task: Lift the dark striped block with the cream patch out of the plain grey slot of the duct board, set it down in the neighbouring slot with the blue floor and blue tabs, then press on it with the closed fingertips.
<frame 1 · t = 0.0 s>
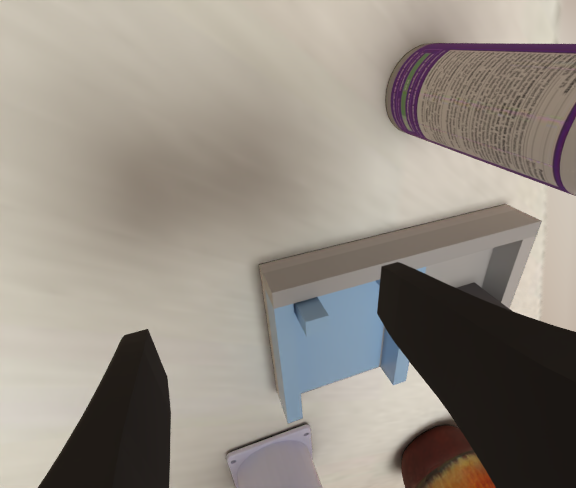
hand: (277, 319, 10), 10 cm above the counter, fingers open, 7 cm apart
duct board: (386, 301, 27), on the counter
vase: (427, 442, 44), on the counter
container: (419, 90, 19), on the counter
dark striped block: (439, 308, 28), point 1 cm above the counter, touching duct board
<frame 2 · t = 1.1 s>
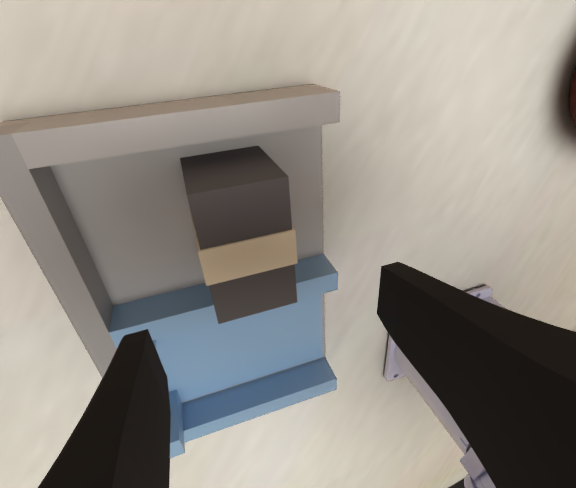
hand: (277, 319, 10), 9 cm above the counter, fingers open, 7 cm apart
duct board: (214, 278, 20), on the counter
dark striped block: (230, 210, 17), point 1 cm above the counter, touching duct board
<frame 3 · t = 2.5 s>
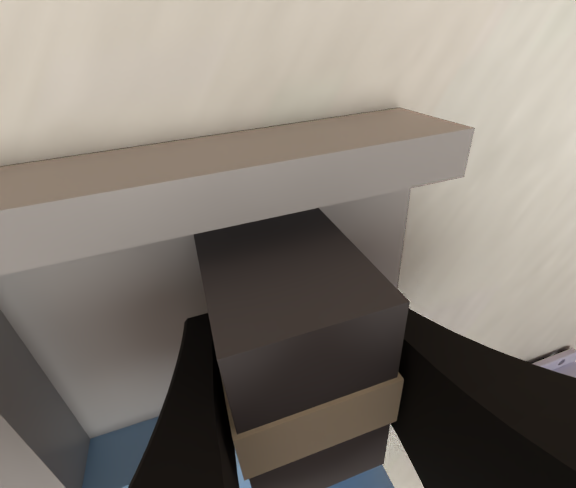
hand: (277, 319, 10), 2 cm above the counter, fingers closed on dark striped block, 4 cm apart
duct board: (238, 378, 14), on the counter
dark striped block: (268, 299, 11), point 1 cm above the counter, touching duct board, gripper
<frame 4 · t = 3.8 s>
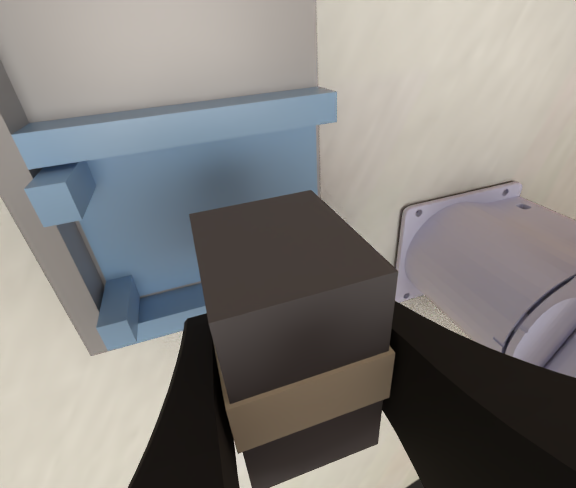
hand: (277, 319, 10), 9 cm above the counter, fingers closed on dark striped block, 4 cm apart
duct board: (175, 115, 15), on the counter
dark striped block: (264, 284, 11), point 8 cm above the counter, touching gripper
when the fingers open (4 cm above the counter, at t = 5.3 s): dark striped block drops 1 cm, resting on duct board.
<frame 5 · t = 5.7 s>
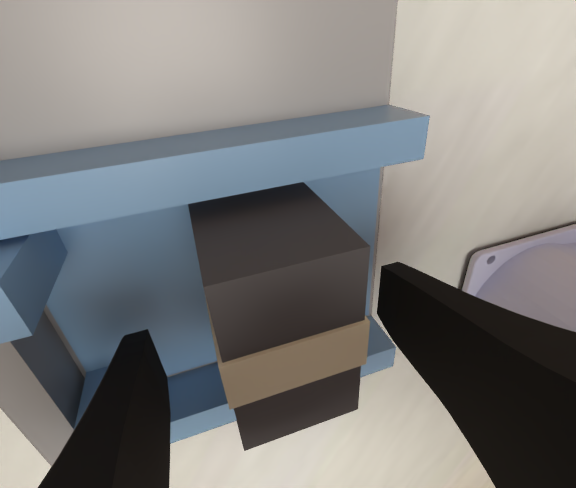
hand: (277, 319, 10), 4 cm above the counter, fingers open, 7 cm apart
duct board: (184, 147, 11), on the counter
dark striped block: (256, 265, 12), point 1 cm above the counter, touching duct board
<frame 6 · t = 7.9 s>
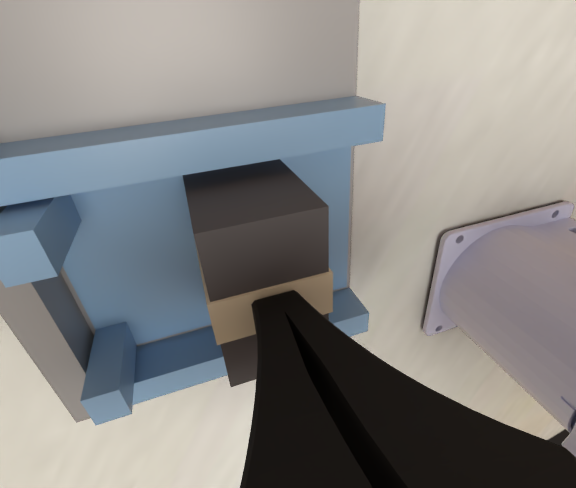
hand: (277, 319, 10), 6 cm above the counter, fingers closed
duct board: (180, 131, 12), on the counter
dark striped block: (243, 237, 14), point 1 cm above the counter, touching duct board
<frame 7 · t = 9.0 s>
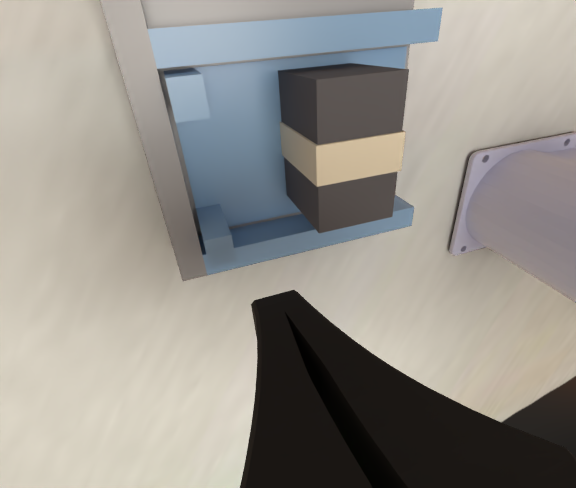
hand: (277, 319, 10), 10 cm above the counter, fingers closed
duct board: (274, 37, 15), on the counter
dark striped block: (316, 133, 17), point 1 cm above the counter, touching duct board
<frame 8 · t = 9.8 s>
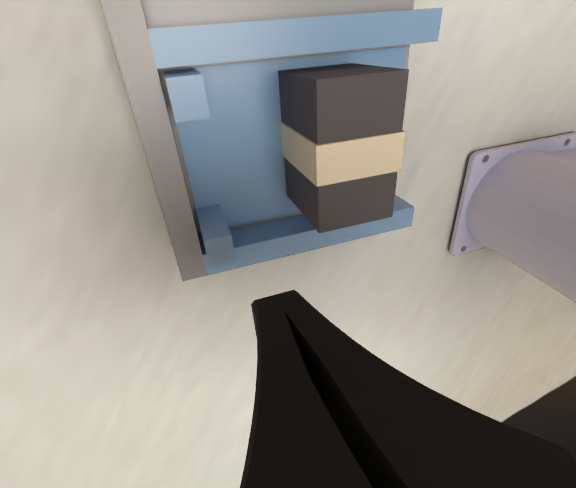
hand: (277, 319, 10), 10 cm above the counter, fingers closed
duct board: (274, 37, 15), on the counter
dark striped block: (316, 133, 17), point 1 cm above the counter, touching duct board
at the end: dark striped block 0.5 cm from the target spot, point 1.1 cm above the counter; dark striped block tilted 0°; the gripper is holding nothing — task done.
